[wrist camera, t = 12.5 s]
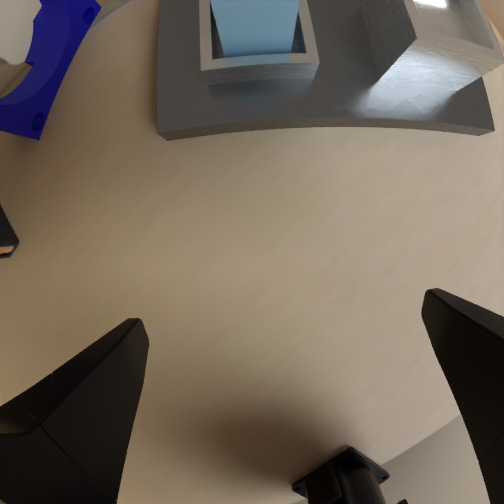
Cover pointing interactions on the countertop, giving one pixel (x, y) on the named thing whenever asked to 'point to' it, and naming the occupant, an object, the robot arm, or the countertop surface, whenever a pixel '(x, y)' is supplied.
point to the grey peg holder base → (330, 70)
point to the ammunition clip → (6, 237)
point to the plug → (255, 26)
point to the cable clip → (46, 64)
